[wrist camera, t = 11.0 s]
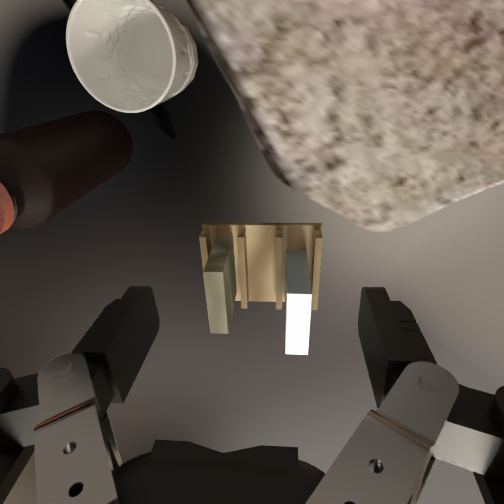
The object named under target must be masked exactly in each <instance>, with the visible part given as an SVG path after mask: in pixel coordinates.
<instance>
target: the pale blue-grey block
mask: <svg viewBox="0 0 504 504" xmlns="http://www.w3.org/2000/svg"><path fill="white" fill-rule="evenodd" d="M311 300H312V291H311V283H310V274H309V266H308V258H307V250H286V293H285V325H286V326H285V335H286V336H285V340H286V341H285V342H286V344H285V347H286V348H285V350H286V352H285V353H286V354H300V355H308V344H309V330H310V315H311Z"/></svg>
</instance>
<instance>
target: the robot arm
mask: <svg viewBox="0 0 504 504" xmlns="http://www.w3.org/2000/svg"><path fill="white" fill-rule="evenodd" d="M158 330H159V315H158V311H157V307H156V302H155V298H154V294H153V291H152V288H151V287H150V286H130V287H129V288H128V289H127V291H126V292H125V293H124V295H123V296H122V298H121V299H116V300H114V301H113V302H112V303H110V304H109V305H108V306H106V307H105V308H104V310H103V311H102V312H101V314H100V315H99V317H98V318H97V319H96V320H95V322H94V323H93V326H91V327H90V329H89V330H88V331H87V332H86V334H85V335H84V336H83V338H82V339H81V340H80V342H79V343H78V344H77V346H76V347H75V348H74V350H73V351H72V352H71V353H67V354H64V355H60V356H58V357H56V358H54V359H52V360H51V361H49V362H48V363H47V364H46V365H45V366H44V367H43V368H42V369H41V370H40V372H39V373H37V374H33V375H29V376H24V377H20V378H16V379H14V378H13V376H12V374H11V372H10V371H9V370H8V369H6V368H0V504H3V502H4V501H5V499H6V497H7V496H8V494H9V492H10V491H11V489H12V487H13V486H14V484H15V482H16V481H17V479H18V477H19V476H20V474H21V472H22V471H23V469H24V467H25V466H26V464H27V462H28V461H29V459H30V457H31V456H32V454H33V452H34V451H35V464H36V465H35V466H36V485H37V504H417V502H418V500H419V497H420V495H421V493H422V491H423V488H424V486H425V484H426V482H427V479H428V477H429V475H430V473H431V470H432V468H433V466H434V464H435V461H436V459H440V460H443V461H446V462H449V463H451V464H454V465H457V466H460V467H463V468H465V469H468V470H471V471H473V473H474V476H475V479H476V481H477V484H478V486H479V489H480V492H481V494H482V497H483V499H484V502H485V504H504V386H502V387H500V388H499V389H498V390H497V391H496V394H495V395H493V394H489V393H485V392H482V391H478V390H475V389H471V388H468V387H465V386H463V385H460V384H458V382H457V380H456V379H455V377H454V376H453V375H452V374H451V373H450V372H449V371H447V370H446V369H444V368H443V367H441V366H439V365H437V363H436V361H435V359H434V356H433V354H432V352H431V350H430V348H429V346H428V344H427V342H426V340H425V338H424V336H423V334H422V332H420V328H419V326H418V324H417V323H416V320H415V318H414V316H413V314H412V312H411V310H410V309H409V308H407V307H406V306H405V305H404V304H403V303H402V302H401V301H390V299H389V296H388V294H387V292H386V289H385V288H384V287H363V288H362V291H361V299H360V309H359V318H358V330H359V338H360V342H361V346H362V350H363V353H364V358H365V362H366V365H367V369H368V373H369V377H370V381H371V385H372V389H373V393H374V397H375V401H376V405H377V409H378V410H377V411H376V412H375V411H374V410H370V411H369V412H368V413H367V414H366V416H365V417H364V419H363V420H362V422H361V423H360V425H359V426H358V427H357V429H356V430H355V432H354V433H353V435H352V436H351V438H350V439H349V441H348V443H347V444H346V445H345V447H344V448H343V450H342V451H341V453H340V454H339V455H338V457H337V458H336V460H335V461H334V463H333V464H332V466H331V467H330V468H329V470H328V471H327V473H326V474H325V473H324V472H323V471H321V470H319V469H318V468H316V467H315V466H313V465H311V464H309V463H306V462H304V461H301V460H298V448H297V447H280V446H279V447H278V446H257V447H252V448H247V449H242V450H237V451H232V452H227V453H221V452H218V451H215V450H212V449H209V448H206V447H203V446H200V445H198V444H195V443H192V442H188V441H169V440H155V442H154V445H153V448H152V451H151V452H149V453H145V454H143V455H139V456H137V457H135V458H133V459H130V460H129V461H127V462H125V463H123V464H122V462H121V459H120V455H119V452H118V448H117V444H116V441H115V437H114V434H113V430H112V427H111V423H110V419H109V416H108V413H107V409H108V407H109V405H110V403H124V401H125V399H126V397H127V395H128V393H129V391H130V389H131V387H132V385H133V383H134V381H135V379H136V376H137V374H138V372H139V370H140V368H141V366H142V364H143V362H144V360H145V358H146V356H147V354H148V352H149V350H150V348H151V346H152V343H153V341H154V340H155V337H156V335H157V333H158Z"/></svg>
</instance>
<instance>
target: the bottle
mask: <svg viewBox="0 0 504 504" xmlns="http://www.w3.org/2000/svg"><path fill="white" fill-rule="evenodd" d="M132 155H133V143H132V140H131V137H130V134H129V132H128V131H127V129H126V127H125V126H124V125H123V123H121V122H120V121H119V120H118V119H117V118H116V117H114V116H112V115H110V114H108V113H106V112H103V111H96V110H94V111H88V112H83V113H79V114H76V115H71V116H67V117H63V118H59V119H56V120H51V121H47V122H44V123H39V124H35V125H31V126H27V127H23V128H19V129H15V130H11V131H7V132H3V133H0V234H1V233H2V232H4V231H6V230H7V229H9V227H18V228H30V227H37V226H39V225H41V224H43V223H44V222H46V221H48V220H50V219H51V218H53V217H54V216H56V215H57V214H59V213H60V212H61V211H63V210H65V209H66V208H68V207H69V206H71V205H72V204H74V203H75V202H77V201H78V200H79V199H81V198H82V197H84V196H86V195H87V194H89V193H90V192H91V191H93V190H94V189H96V188H97V187H99V186H100V185H102V184H103V183H105V182H106V181H108V180H109V179H111V178H112V177H114V176H115V175H117V174H118V173H120V172H121V171H123V170H124V169H125V168H126V167H127V166H128V164H129V163H130V162H131V158H132Z"/></svg>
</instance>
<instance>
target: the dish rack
mask: <svg viewBox="0 0 504 504" xmlns="http://www.w3.org/2000/svg"><path fill="white" fill-rule="evenodd" d="M202 229H203V230H202V232H201V235H200V236H199V239H200V248H201V256H202V264H203V276H204V284H205V292H206V301H207V309H208V317H209V326H210V333H224V334H228V332H229V327H230V322H231V317H232V313H233V308H234V303H235V301H241V307H242V308H248V301H269V302H270V301H271V302H273V301H274V302H276V309H282V302H285V293H286V250H307V258H308V266H309V274H310V283H311V291H312V300H311V310H317V306H318V293H319V279H320V265H321V264H320V263H321V251H322V250H321V249H322V233H321V229H322V224H321V223H203V224H202Z"/></svg>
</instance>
